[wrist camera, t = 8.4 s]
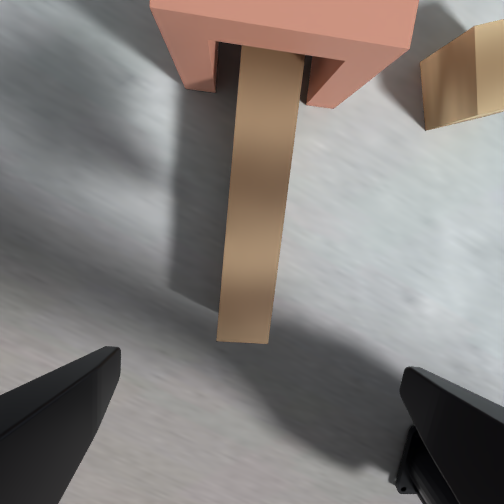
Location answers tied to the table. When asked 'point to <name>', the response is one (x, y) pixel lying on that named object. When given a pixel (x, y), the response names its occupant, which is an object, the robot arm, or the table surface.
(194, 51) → the arch block
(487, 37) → the wooden cube
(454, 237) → the table surface
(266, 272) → the wooden plank
